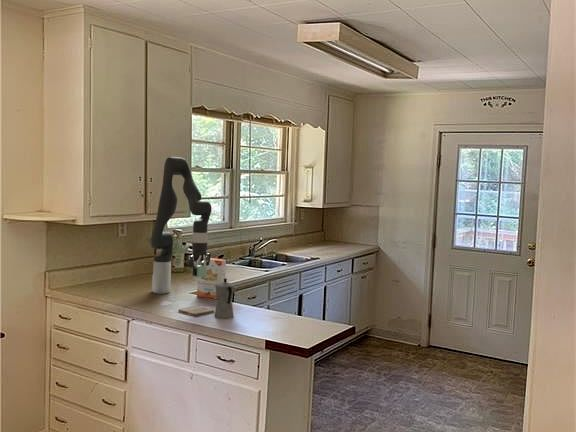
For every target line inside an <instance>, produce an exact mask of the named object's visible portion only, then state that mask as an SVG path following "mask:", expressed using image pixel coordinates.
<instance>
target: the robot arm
mask: <svg viewBox="0 0 576 432" xmlns="http://www.w3.org/2000/svg"><path fill="white" fill-rule="evenodd" d="M163 168H164V169H163V177H162V186H161V192H160V196H159V202H158V207H157V212H156V213H157V214H156V218H155V222H154V226H153V230H152V232H151V238H150V246H151V247H152V249H154V250H161V251H159V253H157V254H155V255H154V256H153V272H152V274H151V275H152V276H151V292H152V293H153V294H156V295H157V294H159V295H160V294H161V295H164V294H170V292H171V277H172V276H171V274H172V273H171V272H172V271H171V270H172V257H173V250H174V249H173V248H174V237H173V236H174V235H173V234H172V232H170V231H164V229H165V227H166V226H167V225H166V224H168V222H169V221H170V220H171V219H172V217H173V216H174V215H175V212H176V211H177V205H178V196H177V193H176V191H175V189H174V185H173V178H174V176H181V177H182V178H183V179H184V180H183V186H182V191H183V193H184V195H185V197H186V199H187V201H188V206H189V211H190V213H191V214H192V215H193V216H200V218H199V219H195V220H194V221H193V223H192V238H191V242H192V243H191V250H192V255H187V261H188V266H189V268H191V275H192V274H193V276H192V277H195V276H197V269H196V268H197V266H198V264H199V262H200V263H201V265H202V266H209V263H210V258H212V254H211V253H207V251H208V243H209V242H208V240H209V239H208V238H209V237H208V224H209V221H210V218H211V213H212V208H213V207H212V204H211V203H210V202H209V200H201V199H202V194H201V191H200V190H199V188H198V186H197V185H196V183H195V181H194V180H195V179H194V177H193V173H192V172H191V171H192V170H191V168H190V166H189V163H188V161H187V160H186V159H185V158H184V157H178V156H169V157H167V158H166V159H165V161H164V167H163ZM192 269H193V271H192Z"/></svg>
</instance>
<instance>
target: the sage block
mask: <svg viewBox="0 0 576 432" xmlns="http://www.w3.org/2000/svg"><path fill="white" fill-rule="evenodd" d="M196 269H197V276H193V274H192V273H191V277H195V278H198V277H204V276H206V266H202V265H198V266H197V268H196ZM192 271H193V269H192V268H191V272H192Z"/></svg>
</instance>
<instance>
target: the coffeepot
mask: <svg viewBox="0 0 576 432" xmlns="http://www.w3.org/2000/svg"><path fill="white" fill-rule="evenodd" d="M227 281H228V278H226V277H225V279H224V282H222V283H217V284H216V285H215V286H216V295H217V299H216V301H217V302H216V307H215V310H214V317H215V318H217V319H232V318H234V309H233V301H232V299H233V295H234V289H235V286H236V285H235V283H231V282H227Z"/></svg>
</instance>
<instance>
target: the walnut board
mask: <svg viewBox="0 0 576 432" xmlns="http://www.w3.org/2000/svg"><path fill="white" fill-rule="evenodd" d="M178 313H181V314H184V315H188V316H192V317H196V318H197V317H200V316H204V315H210V314H213V313H214V314H215V309H211V308H209V307H205V306H201V305H198V304H197V305H192V306H187V307H183V308H180V309H178Z"/></svg>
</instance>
